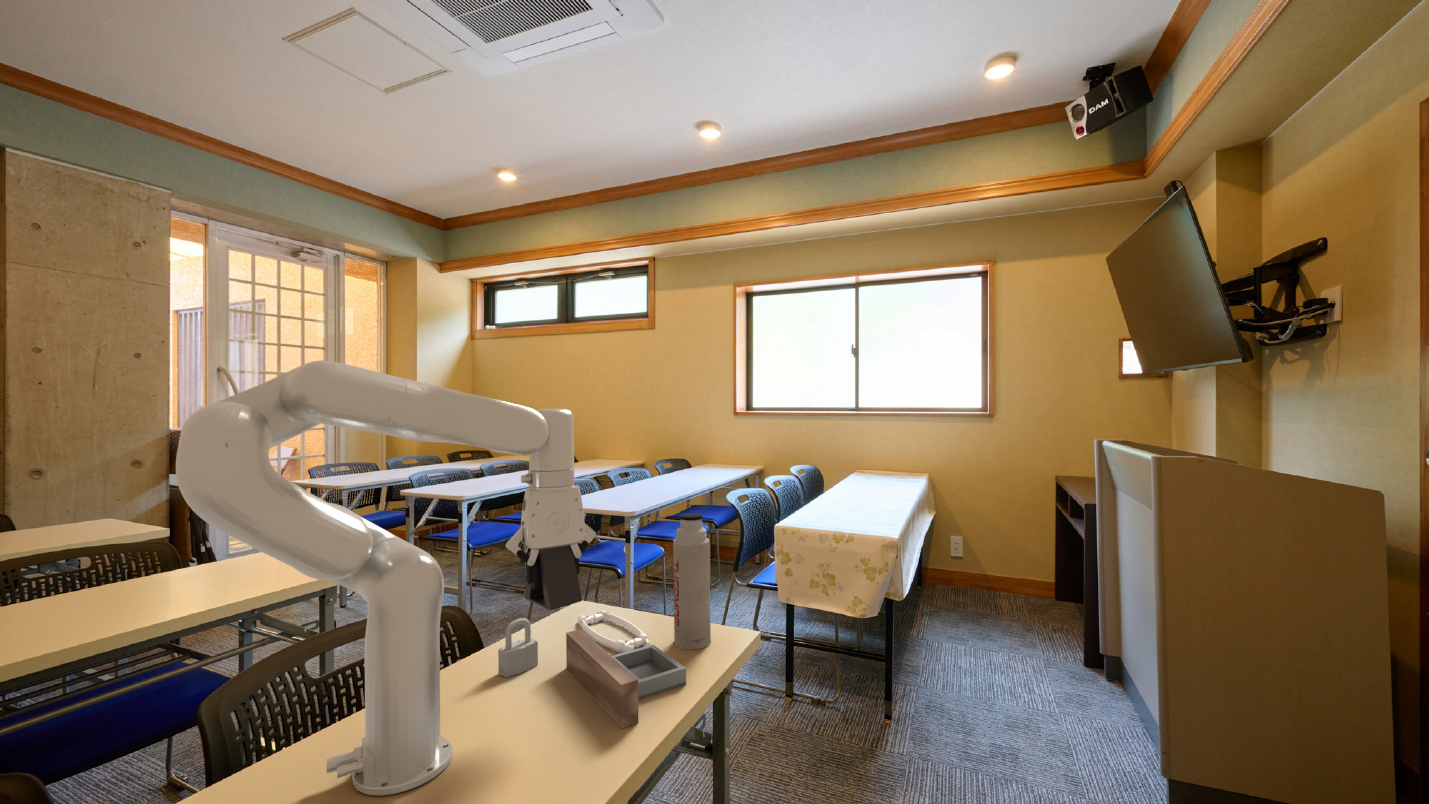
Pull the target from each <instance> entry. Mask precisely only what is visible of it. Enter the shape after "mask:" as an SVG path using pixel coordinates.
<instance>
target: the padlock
mask: <svg viewBox="0 0 1429 804" xmlns="http://www.w3.org/2000/svg"><path fill="white" fill-rule="evenodd" d="M519 625H523V626H524V639H520V640H516V641H513V640H512V633H513V629H514V628H515V627H517V626H519ZM531 626H532V625H531V623H530V620H529V619H527V618H525V617H521V618H516V619H515V620H513V621H511V622H510V623H509V624H508V625H507V627H506V630H505V645H504V646H501V647H500V648H498V651H497V653H498V654H497V655H498V657H497V659H498V662H497V663H498V665H497V666H498V674H500V675H501V676H502V677H504V678H509V677H512V676H515V675H519V674H521V673H525V672H527V671H528V670H531V669H533V668H535V667H537V666H538V665H539V641H538V640H536V639H534V638H532V635H531V634H532V630H531V629H532V627H531ZM512 641H513V642H512Z"/></svg>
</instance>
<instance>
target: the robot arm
mask: <svg viewBox="0 0 1429 804" xmlns="http://www.w3.org/2000/svg"><path fill="white" fill-rule="evenodd" d="M574 418H575V417H574V415H573V412H572V411H571V410H570V409H567V408H540V409H539V408H538V409H534V408H532V407H528V406H525V405H521V404H517V403H513V402H509V401H504V400H501V399H496V398H491V397H488V396H483V395H478V394H473V393H467V392H463V391H460V390H455V389H452V388H447V387H443V386H439V385H434V384H429V383H427V382H422V381H416V380H413V379H409V378H404V377H399V376H396V375H392V374H388V373H384V372H379V371H375V370H371V369H367V368H363V367H359V366H355V365H351V364H348V363H347V364H346V363H342V362H339V361H338V362H337V361H334V360H333V361H332V360H315V361H310V362H307V363H304V364H301V365H299V366H297V367H295V368H293V369H291V370H288V371H286V372H285V373H282V374H280V375H278V376H276V377H274V378H271V379H270V380H267V381H265V382H262V383H260V384H258V385H255V386H253V387H250V388H248V389H245V390H243V391H240V392H237V393H236V394H233V395H230V396H229V397H226V398H223V399H220V400H219V401H216V402H214V403H211V404H208V405H205V406H203V407H202V408H199V409H198V410H196V411H195V412H193V413H192V414H190V416H188V418H187V419H186V420H185V422H184V424H183V425H182V427H181V430H180V436H179V441H178V446H177V451H176V457H175V478H176V481H177V484H178V489H179V491H180V493H181V495H182V497H183V499H184V501H185V502H186V504H187V506H189V508H190V509H191V510H192V512H193V513H194V514H196V515H197V516H198V517H199V518H200V519H202V520H203V522H205V523H207V524H209V525H210V526H211V527H213V528H214V529H217V530H219V531H221V532H222V533H224V534H226V535H228V536H230V537H232V538H234V539H236V540H238V541H240V542H241V543H244V544H246V545H248V546H249V547H251V548H254V550H257V551H259V552H260V553H263V554H265V555H267V556H269V557H271V558H273V559H276V560H277V561H280V562H281V563H284V564H285V565H288V566H290V567H292V568H293V569H295V570H297V571H298V572H299V573H301V574H302V575H304V576H307V577H308V578H311V579H315V580H320V581H331V582H333V583H335V584H337V585H339V586H341V587H344V588H345V589H348V590H350V591H351V592H354V593H356V594H358V595H359V596H361V597H362V598H363V599H364V601H365V602H366V604H367V605H366V606H367V615H366V616H367V619H366V628H365V636H364V714H365V715H364V722H365V723H364V724H365V725H364V726H365V728H364V729H365V730H364V731H365V733H364V736H365V737H362V738H361V745H359V746H356V747H354V748H353V750H352V751H348V752H345V753H340V754H336V755H333V756H330V757H327V758H326V774H330V773H334V772H336V779H340V778H342V777H346V776H349V775H351V774H352V779H351V780H353V781H352V786H353V785H354V786H353V788H354V789H355V788H356V789H357V791H358V792H359V791H360V793H361V792H362V794H364V795H368V796H388V795H395V794H400V793H403V792H407V791H409V790H412V789H416V788H417V787H419V786H422V785H424V784H426V783H428V782H429V781H431V780H432V779H434V778H435V777H437V776H438V775H439V774H440V773H442V772H443V771H444V770H445V769H446V768H447V767H448V765H449V763H450V762H451V760H452V757H453V745H452V743H451V741H449V740H448V739H447V738H446V737H443V736H441V668H440V667H441V664H440V663H441V661H440V660H441V659H440V658H441V654H440V653H441V652H440V646H441V645H440V644H441V643H440V640H441V639H440V634H441V633H440V631H441V630H440V629H441V626H440V625H441V613H442V607H443V600H444V591H445V580H444V574H443V571H442V568H441V566H440V564H439V563H438V561H437V560H436V559H435V557H434V556H432V555H431V554H430V553H429V552H427V551H425V550H424V549H422V548H420V547H418V546H416V545H415V544H411V543H410V542H408V541H406V540H404V539H402V538H401V537H399V536H397V535H395V534H393V533H391V532H390V531H388V530H387V529H385V528H383V527H380V526H379V525H377V524H375V523H373V522H372V521H369V520H368V519H366V518H364V517H363V516H360V515H359V514H357V513H356V512H353V511H352V510H350V509H349V508H346V507H345V506H343V505H341V504H338V503H332V502H327V501H325V500H324V499H323V498H321V497H319V496H316V495H315V494H312V493H311V492H309V491H307V490H306V489H304V488H303V487H301V486H300V485H298V484H296V483H295V482H294V481H293V482H292V481H291V480H289V479H287V478H285V477H284V476H283V475H280V474H279V473H278V471H276V469H275V468H274V466H273V465H272V463H271V460H270V458H269V456H270V454H269V453H270V450H271V449H272V448H275V447H276V446H279V445H281V444H283V443H285V442H287V441H289V440H291V439H292V438H295V437H297V436H299V435H301V434H303V433H305V432H307V431H308V430H311V429H313V428H314V427H317V426H319V425H320V424H322V425H323V424H324V425H328V426H335V427H341V428H345V429H352V430H357V431H362V432H368V433H372V434H373V433H374V434H379V435H385V436H388V437H389V436H390V437H395V438H401V439H406V440H412V441H419V442H426V443H443V444H445V443H448V444H457V445H465V446H471V447H477V448H483V449H487V450H490V451H492V452H496V453H499V454H510V455H518V456H528V457H529V458H528V459H529V460H528V463H529V464H528V465H529V466H528V467H529V470H528V471H527V473H525V474H522V475H521V476H520V482H521V484H528V486H529V487H528V488H525V492H524V497H523V501H522V502H523V503H522V510H521V520H520V528H519V529H518V530H517V531H516V532H515V533H514V534H513V536H512V537H510V539H509V540H508V541H507V542H506V544H505V548H507V549H508V550H509V551H510V552H512V553H513V554H514V555H515V556H516V557H517V558H519V559H520V560H522V562H524V563H525V582H526V585H527V584H529V586H530V587H532V588H533V589H537V588H538V566H537V565H536V558H537V555H538V553H539V550H540V549H547V548H554V547H561V546H567V545H570V547H571V549H572V551H573V555H574V561H575V565H576V570H577V576H579V574H580V567H579V566H580V558H581V557H582V554H583V553H584V551H586V549H587V548H588V546H589V544H590V543H591V542H592V541H593V539H594V538H595V537H596V536H597V533H596V531H595V530H594V529H592V528H591V527H590V526H589V524H586V522H585V515H584V514H585V513H584V506H583V500H582V493H581V488H580V486H579V485H575V427H574V426H575V424H574V423H575V420H574ZM520 542H521V543H522V544H523V545H526V547H527V548H526V550H525V551H523V549H521V547H519V544H520ZM356 789H355V790H356Z"/></svg>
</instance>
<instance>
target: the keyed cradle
mask: <svg viewBox="0 0 1429 804" xmlns="http://www.w3.org/2000/svg"><path fill="white" fill-rule="evenodd" d="M611 656H612V657H613V658H614V659H615V660H616V661H617V662H618V663H620V664H621V665H622V666H623V667H624V668H625V669H626V670H628V671H629V672H630V673H631V674H632V675H633V676H634V677H635V678H637V679H638V701H639V700H644V699H647V698H648V697H649V698H650V697H652V696H654V695H658V694H661V693H664V692H667V691H669V690H670V691H671V690H673V689H677V688H679V687H682V686H685V685H687V668H686V667H685V666H684V665H682V664H681V663H679V662H678V661H677V660H675V659H674V657H673V658H672V657H671V656H670V655H669V654H667V653H666V652H664V651H663V650H661V648H659V647H657V646H656V645H654V644H650V645H649V646H645V647H644V646H642V647H638V648H634V650H631V651H627V652H624V653H617V654H613V655H611Z"/></svg>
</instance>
